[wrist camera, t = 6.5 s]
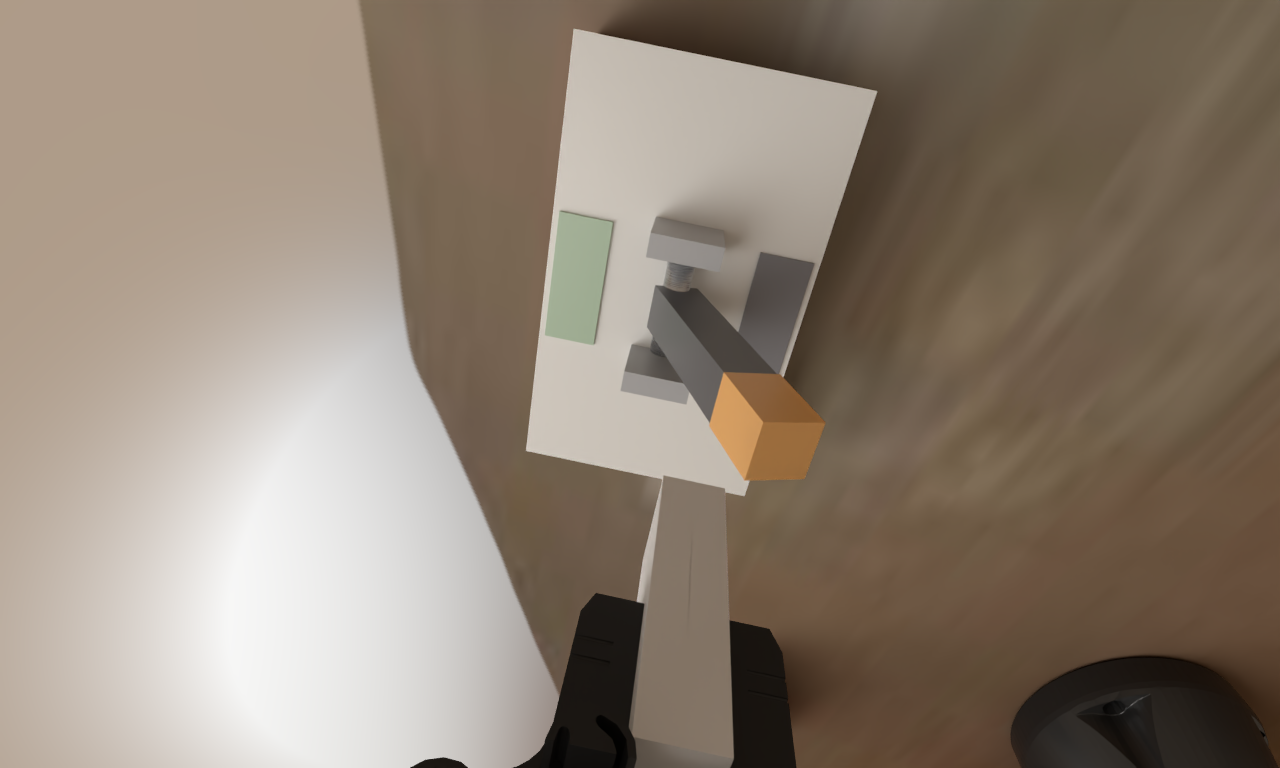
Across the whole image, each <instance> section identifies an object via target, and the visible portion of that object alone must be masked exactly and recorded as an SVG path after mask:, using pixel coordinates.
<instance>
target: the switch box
mask: <svg viewBox="0 0 1280 768" xmlns="http://www.w3.org/2000/svg"><path fill="white" fill-rule="evenodd" d="M876 94H877V91H874V90H870V89H865V88H860V87H855V86H850V85H845V84H840V83H835V82H831V81H826V80H821V79H816V78H811V77H806V76H801V75H797V74H792V73H787V72H782V71H777V70H772V69H767V68H762V67H758V66H753V65H748V64H743V63H738V62H733V61H728V60H724V59H719V58H714V57H709V56H704V55H699V54H694V53H689V52H685V51H680V50H675V49H670V48H665V47H660V46H655V45H651V44H646V43H641V42H636V41H631V40H626V39H621V38H616V37H612V36H607V35H602V34H597V33H592V32H587V31H582V30H578V29H574V32H573V41H572V49H571V58H570V67H569V76H568V85H567V94H566V102H565V111H564V120H563V129H562V138H561V147H560V155H559V164H558V173H557V182H556V191H555V200H554V208H553V217H552V226H551V235H550V244H549V253H548V261H547V270H546V279H545V288H544V297H543V306H542V314H541V323H540V332H539V341H538V350H537V359H536V367H535V376H534V385H533V394H532V403H531V412H530V420H529V429H528V438H527V447H526V451H529V452H534V453H539V454H544V455H549V456H554V457H558V458H563V459H568V460H573V461H578V462H582V463H587V464H592V465H597V466H602V467H607V468H611V469H616V470H621V471H626V472H631V473H635V474H640V475H645V476H650V477H655V478H660V479H663V476H664V475H665V476H669V477H674V478H679V479H683V480H688V481H693V482H697V483H702V484H707V485H711V486H716V487H721V488H725V492H727V493H732V494H737V495H742V496H745V493H746V490H747V487H748V484H749V481H750V480H747V481H744V479H743V478H742V476H741V474H740V473H739V471H738V470H737V468H736V467H735V465H734V464H733V462H732V461H731V459H730V457H729V456H728V454H727V453H726V451H725V450H724V448H723V447H722V445H721V444H720V442H719V440H718V439H717V437H716V436H715V434H714V433H713V431H712V430H711V428H710V427H709V424H710V423H709V421H708V420H707V418H706V417H705V415H704V414H703V412H702V411H701V409H700V408H699V406H698V404H697V403H696V401H695V400H694V398H693V397H692V395H691V394H690V392H689V391H688V389H687V388H686V386H685V385H684V383H683V382H682V380H681V378H680V377H679V375H678V374H677V372H676V371H675V369H674V368H673V366H672V365H671V363H670V362H669V360H668V359H667V358H666V357H660V356H657V355H654V354H653V353H651V351H650V345H651V340H652V334H651V333H650V331H649V330H648V328H647V323H648V318H649V313H650V308H651V303H652V298H653V294H654V289H655V285H661V286H663V283H664V278H665V273H666V268H667V263H668V262H672V263H677V264H681V265H686V266H691V267H695V269H694V274H693V278H692V282H691V287H690V288H697V289H698V290H699V291H700V292H701V293H702V294H703V295H704V296H705V297H706V298H707V299H708V300H709V302H710V303H711V304H712V305H713V306H714V307H715V308H716V309H717V310H718V311H719V312H720V313H721V314H722V315H723V317H724V318H725V319H726V320H727V321H728V322H729V323H730V324H731V325H732V326H733V327H734V328H735V329H736V330H737V332H738V333H739V334H740V335H741V336H742V337H743V338H744V339H745V340H746V341H747V342H748V343H749V344H750V346H751V347H752V348H753V349H754V350H755V351H756V352H757V353H758V354H759V355H760V356H761V357H762V358H763V359H764V361H765V362H766V363H767V364H768V365H769V366H770V367H771V368H772V369H773V370H774V371H775V372H776V373H777V374H780V375H781V376H782V377H784V374H785V371H786V368H787V365H788V362H789V359H790V356H791V353H792V350H793V347H794V344H795V341H796V338H797V335H798V332H799V329H800V325H801V322H802V319H803V316H804V313H805V310H806V307H807V304H808V301H809V298H810V295H811V292H812V289H813V286H814V283H815V280H816V277H817V274H818V271H819V268H820V265H821V261H822V258H823V255H824V252H825V249H826V246H827V243H828V240H829V237H830V234H831V231H832V228H833V225H834V222H835V219H836V216H837V213H838V210H839V207H840V204H841V201H842V197H843V194H844V191H845V188H846V185H847V182H848V179H849V176H850V173H851V170H852V167H853V164H854V161H855V158H856V155H857V152H858V149H859V146H860V143H861V140H862V137H863V134H864V130H865V127H866V124H867V121H868V118H869V115H870V112H871V109H872V106H873V103H874V100H875V97H876Z"/></svg>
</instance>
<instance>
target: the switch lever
mask: <svg viewBox="0 0 1280 768" xmlns="http://www.w3.org/2000/svg"><path fill="white" fill-rule="evenodd" d="M694 269H695V267H691V266H686V265H681V264H677V263H672V262H668V263H667V268H666V273H665V278H664V283H663V286H661V285H655V289H654V294H653V298H652V303H651V308H650V313H649V318H648V323H647V328H648V330H649V331H650V333H651V334H652V340H651V345H650V351H651V353H653V354H654V355H657V356H660V357H666V358H667V359H668V360H669V362H670V363H671V365H672V366H673V368H674V369H675V371H676V372H677V374H678V375H679V377H680V378H681V380H682V382H683V383H684V385H685V386H686V388H687V389H688V391H689V392H690V394H691V395H692V397H693V398H694V400H695V401H696V403H697V404H698V406H699V408H700V409H701V411H702V412H703V414H704V415H705V417H706V418H707V420H708V421H709V423H710V424H709V427H710V428H711V430H712V431H713V433H714V434H715V436H716V437H717V439H718V440H719V442H720V444H721V445H722V447H723V448H724V450H725V451H726V453H727V454H728V456H729V457H730V459H731V461H732V462H733V464H734V465H735V467H736V468H737V470H738V471H739V473H740V474H741V476H742V478H743V479H744V481H747V480H783V479H804V478H805V476H806V473H807V471H808V468H809V465H810V463H811V460H812V457H813V455H814V452H815V449H816V447H817V444H818V442H819V439H820V436H821V434H822V431H823V428H824V426H825V421H824V420H823V419H822V418H821V417H820V416H819V415H818V414H817V413H816V412H815V411H814V410H813V409H812V408H811V407H810V406H809V404H808V403H807V402H806V401H805V400H804V399H803V398H802V397H801V396H800V395H799V394H798V393H797V392H796V391H795V390H794V388H793V387H792V386H791V385H790V384H789V383H788V382H787V381H786V380H785V379H784V378H783V377H782V376H781V375H780V374H777V373H776V372H775V371H774V370H773V369H772V368H771V367H770V366H769V365H768V364H767V363H766V362H765V361H764V359H763V358H762V357H761V356H760V355H759V354H758V353H757V352H756V351H755V350H754V349H753V348H752V347H751V346H750V344H749V343H748V342H747V341H746V340H745V339H744V338H743V337H742V336H741V335H740V334H739V333H738V332H737V330H736V329H735V328H734V327H733V326H732V325H731V324H730V323H729V322H728V321H727V320H726V319H725V318H724V317H723V315H722V314H721V313H720V312H719V311H718V310H717V309H716V308H715V307H714V306H713V305H712V304H711V303H710V302H709V300H708V299H707V298H706V297H705V296H704V295H703V294H702V293H701V292H700V291H699V290H698V289H697V288H690V287H691V282H692V278H693V274H694Z"/></svg>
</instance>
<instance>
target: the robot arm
mask: <svg viewBox="0 0 1280 768" xmlns="http://www.w3.org/2000/svg"><path fill="white" fill-rule="evenodd" d="M787 700H788V696H787V687H786V683H785V671H784V663H783V655H782V651H781V650H780V648H779V646H778V644H777V642H776V640H775V639H774V637H773V635H772V633H771V631H770V629H767V628H762V627H758V626H753V625H749V624H744V623H739V622H735V621H730V620H729V595H728V565H727V534H726V503H725V488H721V487H716V486H711V485H707V484H702V483H697V482H693V481H688V480H683V479H679V478H674V477H669V476H665V475H664V476H663V480H662V484H661V488H660V492H659V496H658V500H657V504H656V509H655V513H654V517H653V521H652V525H651V529H650V533H649V537H648V541H647V545H646V549H645V554H644V558H643V563H642V570H641V577H640V584H639V591H638V598H637V602H635V601H630V600H626V599H621V598H617V597H612V596H607V595H603V594H598V593H596V594H595V595H594V596H593V597H592V598H591V599H590V601H589V602H588V603H587V604H586V605H585V607H584V608H583V609H582V610H581V612H580V616H579V620H578V624H577V629H576V633H575V637H574V641H573V645H572V649H571V653H570V657H569V661H568V665H567V669H566V673H565V677H564V681H563V685H562V689H561V693H560V697H559V701H558V705H557V710H556V713H555V718H554V722H553V724H552V726H551V728H550V730H549V733H548V734H547V737H546V739H545V744H544V745H543V747H542V748H541V750H540V751H539V752H538V753H537V754H536V755H535V756H533V757H532V758H531V759H530V760H528V761H526V762H525V763H523V764H521V765H519V766H517V767H514V768H796V760H795V752H794V744H793V736H792V728H791V720H790V712H789V704H788V703H787ZM1011 744H1012V747H1013V750H1014V752H1015V755H1016V757H1017V759H1018V761H1019V763H1020V766H1021V768H1279V767H1278V765H1277V763H1276V761H1275V759H1274V757H1273V755H1272V753H1271V751H1270V749H1269V747H1268V739H1267V737H1266V734H1265V731H1264V728H1263V726H1262V724H1261V722H1260V721H1259V719H1258V717H1257V716H1256V714H1255V713H1254V712H1253V710H1252V709H1251V708H1250V707H1249V706H1248V704H1247V703H1246V702H1245V701H1244V700H1243V699H1242V697H1241V696H1240V695H1239V694H1238V693H1237V691H1236V690H1235V689H1234V688H1233V687H1232V686H1231V685H1230V684H1229V683H1228V682H1227V681H1226V680H1225V679H1224V678H1222V677H1221V676H1219V675H1218V674H1216V673H1214V672H1213V671H1211V670H1209V669H1206V668H1204V667H1201V666H1199V665H1196V664H1192V663H1189V662H1184V661H1179V660H1174V659H1166V658H1129V659H1120V660H1114V661H1108V662H1103V663H1099V664H1095V665H1091V666H1088V667H1085V668H1082V669H1079V670H1076V671H1074V672H1071V673H1069V674H1066V675H1064V676H1062V677H1060V678H1058V679H1056V680H1054V681H1052V682H1051V683H1049V684H1048V685H1046V686H1044V687H1043V688H1042V689H1040V690H1039V691H1038V692H1036V693H1035V694H1034V695H1033V696H1032V697H1031V698H1029V699H1028V701H1027V702H1026V703H1025V704H1024V705H1023V706H1022V707H1021V709H1020V710H1019V712H1018V713H1017V715H1016V717H1015V719H1014V722H1013V725H1012V728H1011ZM411 768H468V767H466V766H465V765H464V764H463V763H462V762H459V761H456V760H452V759H448V758H436V759H428V760H424V761H422V762H420V763H418V764H416V765H415V766H413V767H411Z"/></svg>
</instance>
